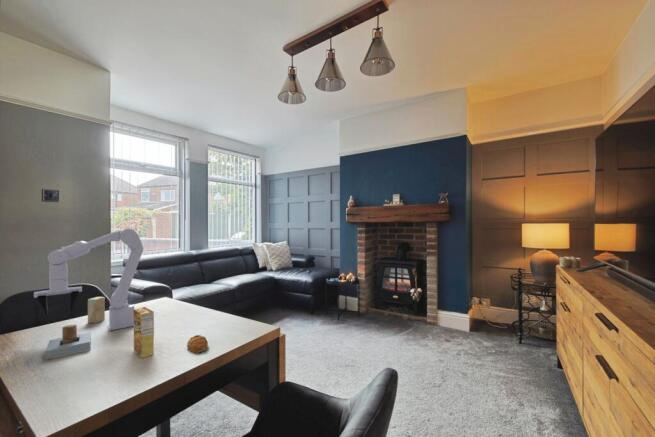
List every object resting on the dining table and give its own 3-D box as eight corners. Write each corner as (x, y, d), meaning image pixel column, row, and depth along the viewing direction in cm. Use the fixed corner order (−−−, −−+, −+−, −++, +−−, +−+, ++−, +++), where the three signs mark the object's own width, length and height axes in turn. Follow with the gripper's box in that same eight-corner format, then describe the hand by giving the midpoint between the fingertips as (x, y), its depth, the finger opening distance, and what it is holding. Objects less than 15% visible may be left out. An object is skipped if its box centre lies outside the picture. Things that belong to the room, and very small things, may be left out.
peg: (75, 344, 112) (75, 323, 112) (77, 347, 109) (77, 325, 109) (61, 348, 109) (61, 326, 109) (63, 351, 106) (63, 329, 106)
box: (94, 323, 136) (94, 299, 136) (87, 322, 136) (86, 299, 136) (105, 319, 141) (105, 296, 141) (98, 319, 142) (97, 296, 142)
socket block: (90, 339, 117) (90, 332, 117) (90, 349, 108) (90, 341, 108) (49, 348, 110) (49, 340, 110) (45, 360, 100) (45, 351, 100)
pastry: (211, 350, 106) (211, 340, 106) (191, 356, 102) (191, 345, 102) (204, 342, 113) (204, 332, 113) (185, 347, 109) (185, 337, 109)
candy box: (132, 351, 106) (132, 309, 106) (146, 347, 109) (145, 306, 109) (141, 358, 100) (140, 314, 100) (155, 354, 103) (154, 311, 103)
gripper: (82, 275, 128) (82, 306, 128) (35, 279, 119) (36, 313, 119) (81, 277, 122) (82, 309, 122) (32, 282, 113) (33, 317, 113)
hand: (59, 311), depth 120 cm, fingers open, 7 cm apart
